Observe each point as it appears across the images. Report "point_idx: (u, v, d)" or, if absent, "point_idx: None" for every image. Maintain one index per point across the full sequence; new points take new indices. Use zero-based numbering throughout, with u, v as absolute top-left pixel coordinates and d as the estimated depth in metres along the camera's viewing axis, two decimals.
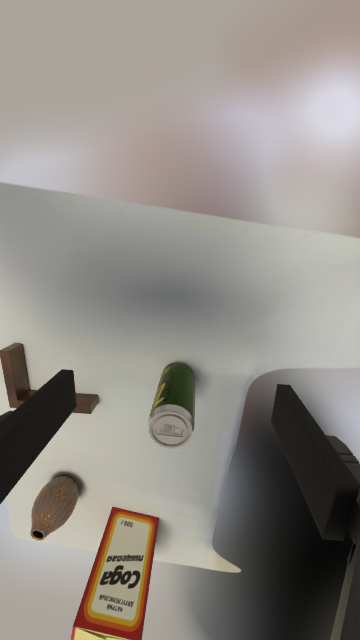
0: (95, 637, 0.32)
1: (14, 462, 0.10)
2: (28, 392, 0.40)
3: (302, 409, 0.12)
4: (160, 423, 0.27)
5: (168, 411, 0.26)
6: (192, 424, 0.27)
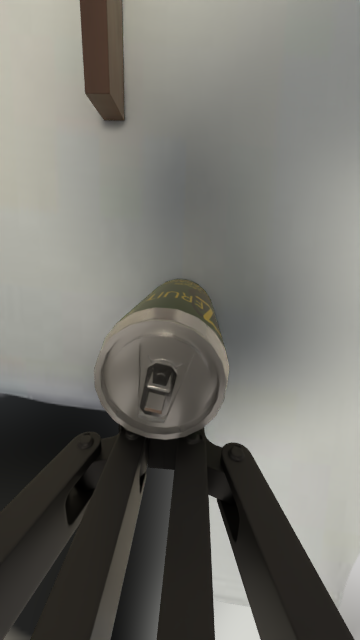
0: None
1: None
2: None
3: None
4: (180, 355, 0.09)
5: (226, 382, 0.09)
6: None
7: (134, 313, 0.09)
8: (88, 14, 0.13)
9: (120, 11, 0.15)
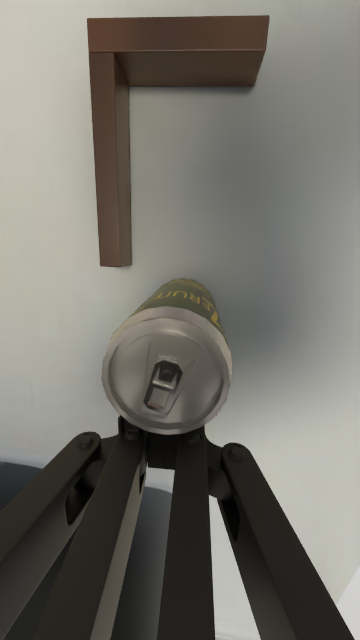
0: None
1: None
2: (125, 84, 0.16)
3: None
4: (187, 354, 0.09)
5: None
6: None
7: (145, 310, 0.09)
8: (103, 213, 0.16)
9: (128, 189, 0.18)
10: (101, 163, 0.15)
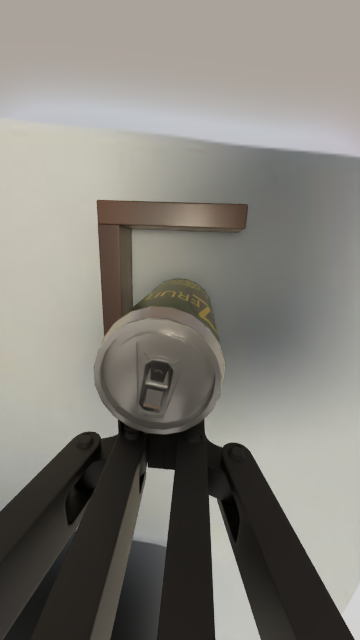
0: None
1: None
2: (128, 231, 0.18)
3: None
4: (175, 351, 0.09)
5: (221, 377, 0.09)
6: None
7: (131, 313, 0.09)
8: None
9: (131, 307, 0.20)
10: (108, 303, 0.18)
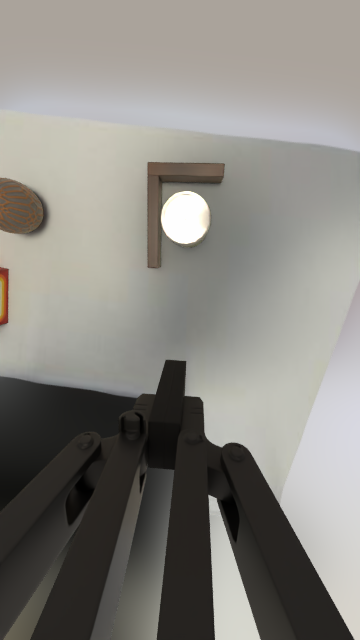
0: None
1: None
2: (161, 182, 0.33)
3: (180, 377, 0.15)
4: (192, 205, 0.24)
5: (209, 215, 0.24)
6: (189, 243, 0.25)
7: None
8: (150, 242, 0.34)
9: (160, 229, 0.35)
10: (150, 220, 0.33)
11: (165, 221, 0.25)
